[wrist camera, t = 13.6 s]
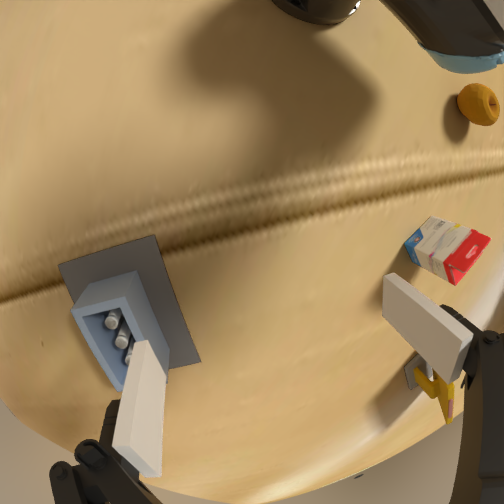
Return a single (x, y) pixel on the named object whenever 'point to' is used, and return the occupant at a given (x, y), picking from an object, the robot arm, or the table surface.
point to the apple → (479, 104)
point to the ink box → (446, 248)
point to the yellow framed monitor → (431, 384)
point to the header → (156, 288)
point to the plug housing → (103, 339)
